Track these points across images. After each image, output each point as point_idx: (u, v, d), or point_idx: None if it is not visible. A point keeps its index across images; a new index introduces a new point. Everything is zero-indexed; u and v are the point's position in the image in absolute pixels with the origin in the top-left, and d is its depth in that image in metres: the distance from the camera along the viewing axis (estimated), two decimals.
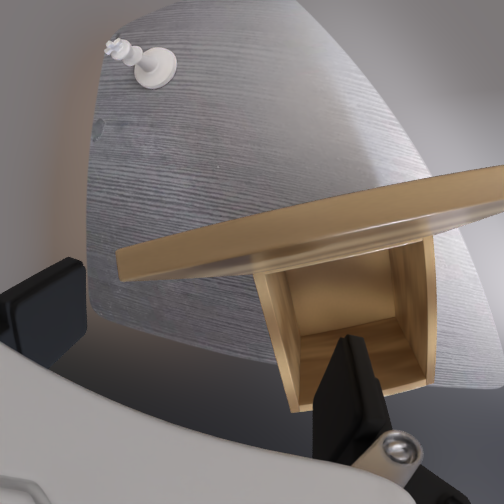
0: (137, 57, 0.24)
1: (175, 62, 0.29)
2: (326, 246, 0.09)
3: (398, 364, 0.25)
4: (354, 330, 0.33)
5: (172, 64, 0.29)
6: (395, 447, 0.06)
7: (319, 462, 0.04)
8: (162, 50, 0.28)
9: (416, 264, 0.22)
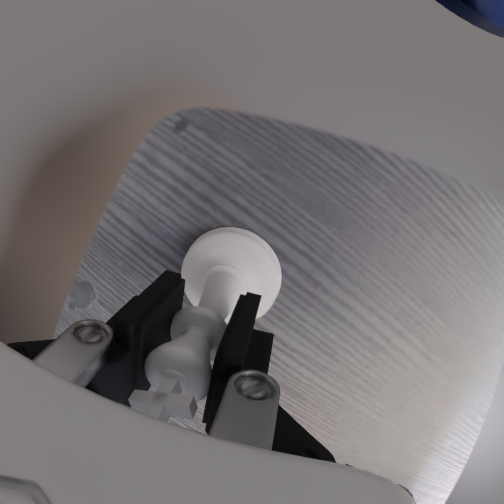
0: (211, 356, 0.11)
1: (275, 296, 0.16)
2: None
3: None
4: None
5: (269, 304, 0.15)
6: (248, 386, 0.07)
7: (319, 462, 0.04)
8: (265, 262, 0.15)
9: None
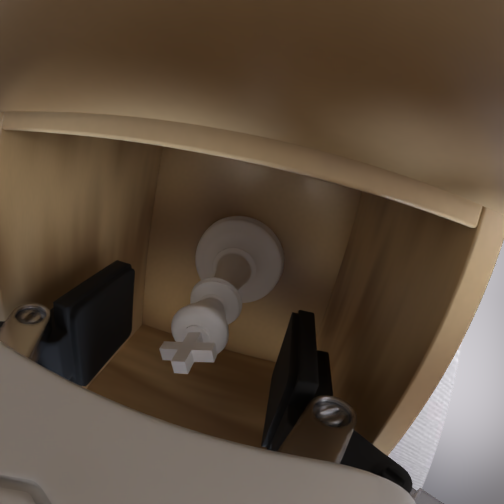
0: None
1: (278, 278, 0.18)
2: None
3: None
4: (225, 359, 0.19)
5: (272, 284, 0.17)
6: (326, 412, 0.07)
7: (319, 462, 0.04)
8: (269, 246, 0.17)
9: (406, 297, 0.08)
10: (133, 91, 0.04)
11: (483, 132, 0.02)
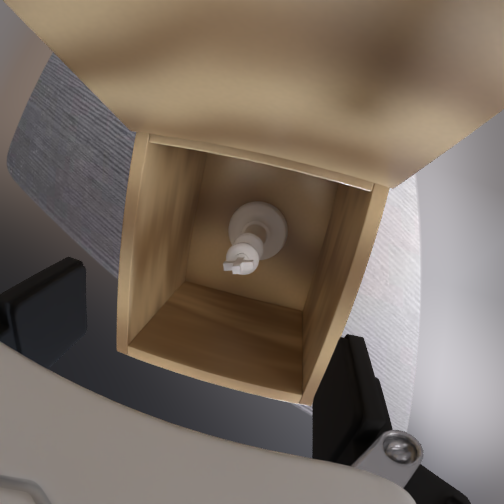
0: None
1: (284, 242, 0.27)
2: None
3: (276, 360, 0.21)
4: (247, 302, 0.28)
5: (280, 246, 0.26)
6: (395, 447, 0.06)
7: (319, 462, 0.04)
8: (278, 220, 0.26)
9: (351, 231, 0.17)
10: (243, 141, 0.13)
11: (346, 157, 0.11)
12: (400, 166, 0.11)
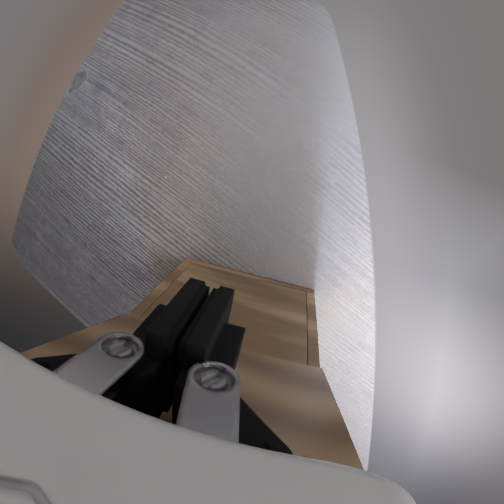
0: None
1: None
2: None
3: None
4: None
5: None
6: (208, 378, 0.07)
7: (319, 462, 0.04)
8: None
9: None
10: None
11: None
12: None
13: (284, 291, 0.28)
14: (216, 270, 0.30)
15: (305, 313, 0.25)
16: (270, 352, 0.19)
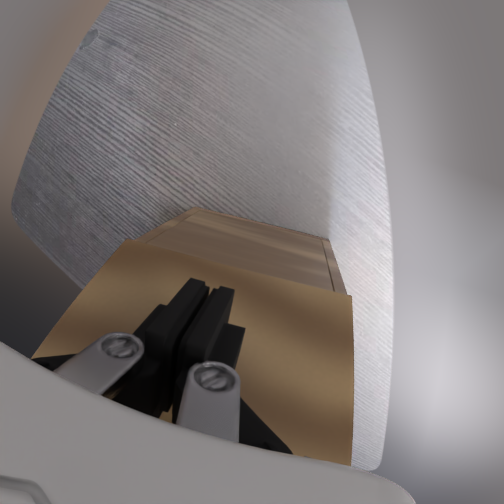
0: None
1: None
2: None
3: None
4: None
5: None
6: (208, 378, 0.07)
7: (319, 462, 0.04)
8: None
9: None
10: None
11: None
12: None
13: (298, 237, 0.27)
14: (226, 217, 0.28)
15: (323, 254, 0.24)
16: (292, 279, 0.18)
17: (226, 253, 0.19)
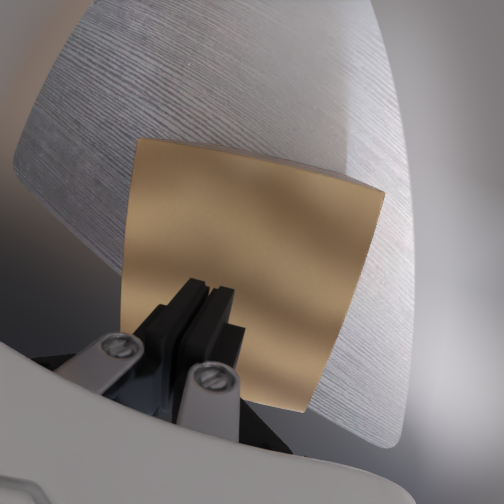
0: None
1: None
2: None
3: None
4: None
5: None
6: (208, 378, 0.07)
7: (319, 462, 0.04)
8: None
9: None
10: None
11: None
12: None
13: (316, 167, 0.25)
14: None
15: None
16: (320, 172, 0.16)
17: (246, 154, 0.17)
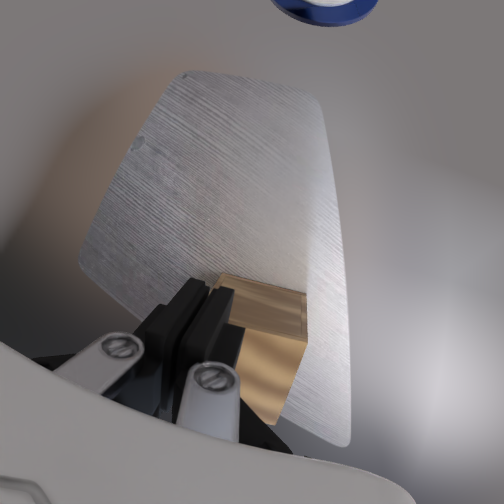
0: None
1: None
2: None
3: None
4: None
5: None
6: (208, 378, 0.07)
7: (319, 462, 0.04)
8: None
9: None
10: None
11: None
12: None
13: (286, 294, 0.45)
14: (243, 281, 0.46)
15: (300, 308, 0.41)
16: (280, 329, 0.35)
17: (246, 314, 0.37)
